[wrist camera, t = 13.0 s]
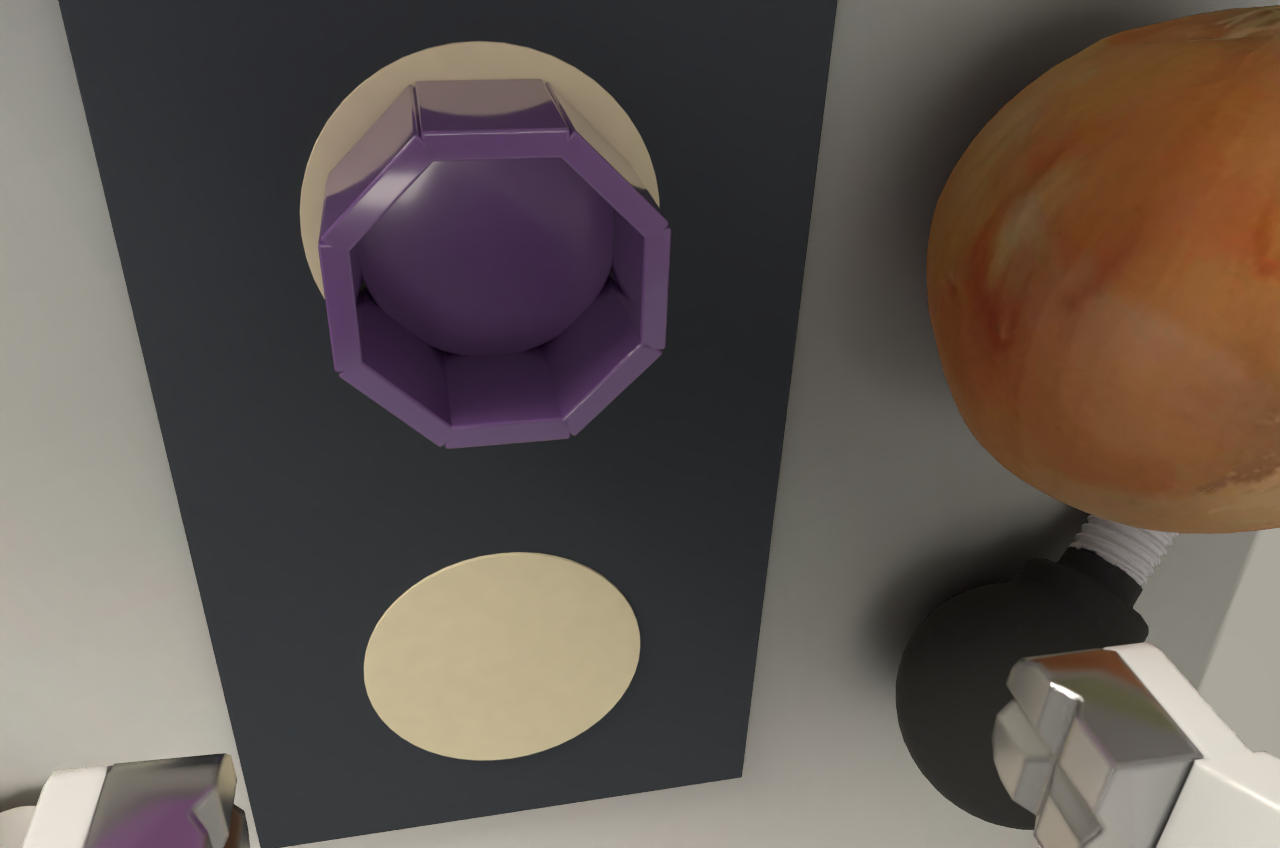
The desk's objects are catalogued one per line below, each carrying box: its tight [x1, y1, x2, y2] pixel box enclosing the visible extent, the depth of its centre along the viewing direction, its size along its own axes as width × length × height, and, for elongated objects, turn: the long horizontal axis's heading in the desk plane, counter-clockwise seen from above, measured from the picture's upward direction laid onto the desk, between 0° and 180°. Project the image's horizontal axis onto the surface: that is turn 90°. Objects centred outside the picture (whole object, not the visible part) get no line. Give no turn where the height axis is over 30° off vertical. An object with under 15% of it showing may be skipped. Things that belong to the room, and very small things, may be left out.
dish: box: [318, 79, 671, 449], centre depth 20 cm, size 6×6×3 cm
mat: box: [58, 0, 837, 848], centre depth 24 cm, size 14×24×1 cm, turn 178°
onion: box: [926, 5, 1280, 533], centre depth 20 cm, size 10×10×10 cm
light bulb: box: [896, 514, 1180, 830], centre depth 28 cm, size 6×6×10 cm
